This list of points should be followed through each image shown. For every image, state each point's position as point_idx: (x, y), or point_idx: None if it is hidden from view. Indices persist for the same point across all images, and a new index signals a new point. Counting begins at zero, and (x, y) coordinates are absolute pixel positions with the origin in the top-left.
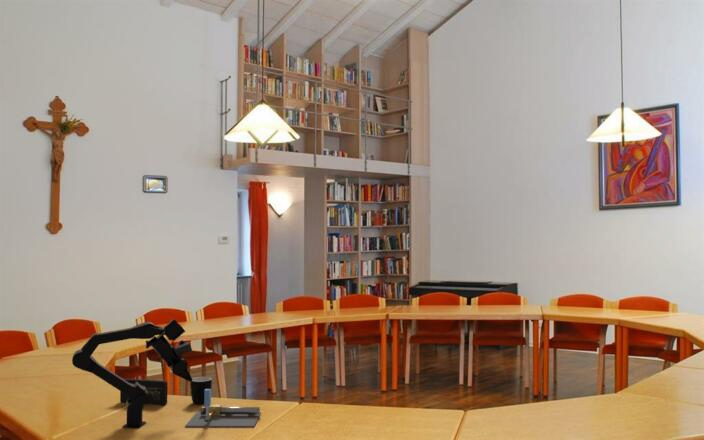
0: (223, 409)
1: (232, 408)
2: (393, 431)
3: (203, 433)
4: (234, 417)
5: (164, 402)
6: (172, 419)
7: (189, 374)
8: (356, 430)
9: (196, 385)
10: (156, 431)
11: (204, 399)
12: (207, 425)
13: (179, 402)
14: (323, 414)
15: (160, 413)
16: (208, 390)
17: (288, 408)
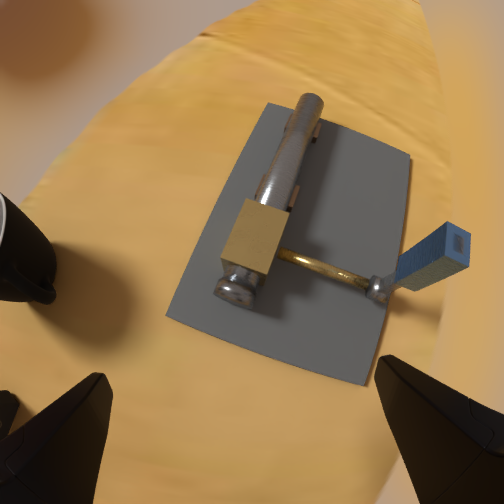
0: (284, 202)
1: (294, 167)
2: (419, 24)
3: (441, 316)
4: (307, 182)
5: (13, 404)
6: (221, 430)
7: (456, 393)
8: (419, 41)
9: (6, 272)
10: (366, 481)
11: (434, 282)
12: None
13: (6, 344)
14: (317, 28)
15: (113, 453)
16: (469, 242)
17: (240, 53)
